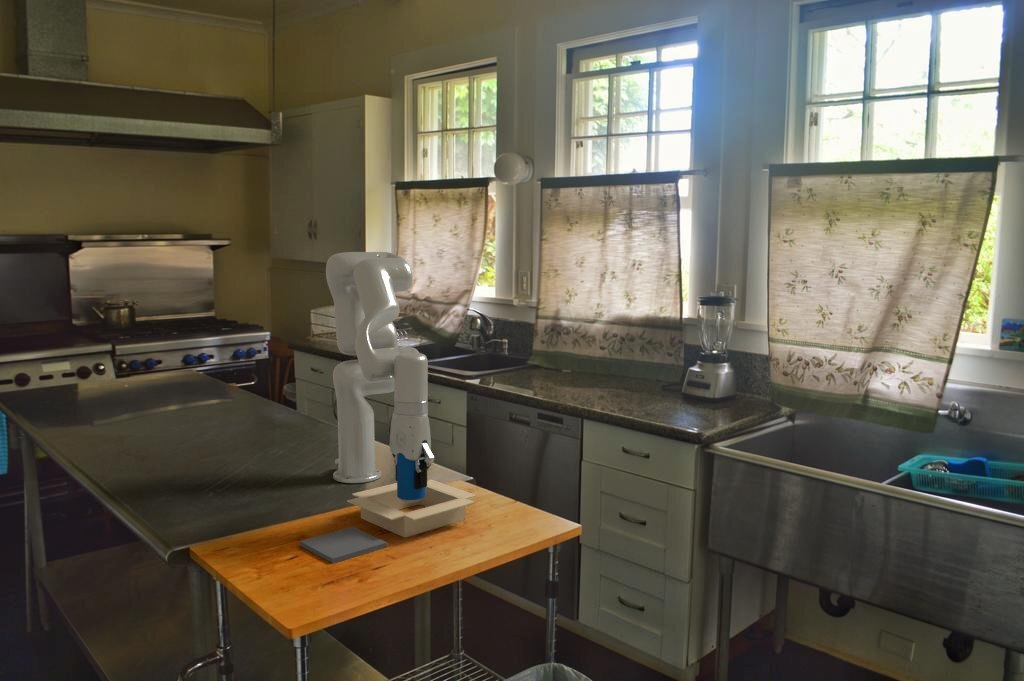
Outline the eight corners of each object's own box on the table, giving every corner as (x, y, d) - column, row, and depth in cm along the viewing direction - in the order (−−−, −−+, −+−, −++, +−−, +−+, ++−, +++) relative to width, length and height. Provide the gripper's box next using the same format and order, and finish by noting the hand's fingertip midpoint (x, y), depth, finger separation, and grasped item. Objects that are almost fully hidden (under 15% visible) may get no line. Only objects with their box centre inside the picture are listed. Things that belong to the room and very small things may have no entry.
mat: (299, 545, 181) (299, 541, 181) (352, 531, 190) (352, 526, 189) (332, 563, 171) (332, 558, 171) (387, 547, 180) (386, 542, 180)
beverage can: (426, 494, 201) (426, 444, 199) (424, 503, 195) (424, 452, 193) (398, 494, 201) (398, 444, 199) (395, 503, 194) (395, 452, 192)
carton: (339, 517, 198) (339, 496, 197) (422, 495, 214) (422, 476, 214) (400, 545, 181) (400, 523, 180) (486, 519, 197) (486, 498, 196)
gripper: (375, 403, 198) (376, 478, 201) (420, 417, 186) (421, 497, 188) (401, 398, 203) (402, 472, 206) (448, 412, 191) (447, 489, 193)
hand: (411, 483), depth 197 cm, fingers closed on beverage can, 6 cm apart
